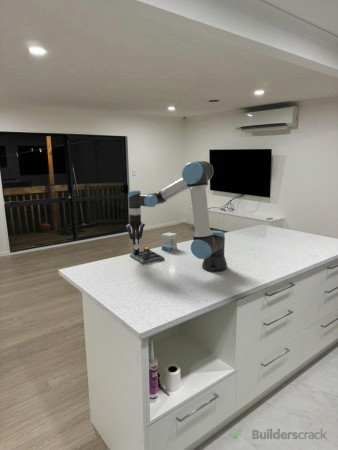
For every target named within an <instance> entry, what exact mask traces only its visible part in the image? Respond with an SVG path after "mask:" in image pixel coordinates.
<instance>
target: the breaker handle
mask: <svg viewBox="0 0 338 450" xmlns="http://www.w3.org/2000/svg"><path fill="white" fill-rule="evenodd" d="M150 250H151V249H150V247H148V246H147V247H143V251H144V252H148V253H149V255H150Z"/></svg>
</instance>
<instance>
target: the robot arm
mask: <svg viewBox="0 0 338 450" xmlns="http://www.w3.org/2000/svg"><path fill="white" fill-rule="evenodd" d="M181 176H182V177H181V178H179V179H178V180H176V181H175V182H173V183H171V184H169V185H168V186H166V187H163V188H162V189H160V190H159V191H157V192H153V193H147V194H145V193H141V191H140V190H138V189H132V190H128V214H129V216H128V217H129V218H128V219H129V222H128V224H126V225H125V227H126V229H127V232H128V236H129V239H130V240H132V245H133V247H134V249H135V250H138V248H139V244H140V240H141V239H142V238H143V233H144V228H145V226H146V224H145V223H143V222H142V209H141V208H142V207H147V208H154V207H156V206H157V205H161V204H164V203H166V202H167V201H168V200H169V199H172V198H173V197H176V196H177V195H179V194H181V193H183V192H185V191H187V190H190V199H191V208H192V215H193V216H192V217H193V226H194V233H193V234H192V239H193V241H192V242H191V244H190V252H191V253H192V255H193V256H194V257H196V258H197V259H199V260H203V261H202V266H201V267H202V269H203V270H205V271H207V272H208V271H209V272H217V273H218V272H223V271H226V270H227V269H228V264H227V260H226V256H225V244H226V243H225V240H226V237H225V236H226V235H225V232H224V231H222V230H215V229H214V230H212V229H211V227H210V225H211V224H210V218H209V217H210V216H209V206H208V199H207V190H206V188H207V187H208V186H209V180H211V179H212V177H213V176H214V166H213V165H212V164H211V163H210V162H208V161H204V160H202V161H201V160H200V161H191V162H188V163H186V164H185V165H184V167H183V168H182V171H181Z"/></svg>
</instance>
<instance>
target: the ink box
mask: <svg viewBox="0 0 338 450" xmlns="http://www.w3.org/2000/svg"><path fill="white" fill-rule="evenodd" d="M177 249H178V234H177V233H174V232H165V233H162V234H161V250H162V251H163V250H164V251H169V252H172V251H174V250H177Z"/></svg>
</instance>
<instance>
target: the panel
mask: <svg viewBox="0 0 338 450" xmlns="http://www.w3.org/2000/svg"><path fill="white" fill-rule="evenodd" d="M132 250H133V251H132V252H131V253H130V254H129V257H130V258H131V259H133V260H135V261H136V262H138V263H140V264H141V265H147V264H151V263H156V262H157V263H158V262H161V261H165V260H166V259H165V257H164V256H163V255H161V254H158V253H157V252H155V251H153V250H151V249H150V255H149V253H148V252H144V250H140V248H139V247H138V250H135V249H134V246H133V247H132Z"/></svg>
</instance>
